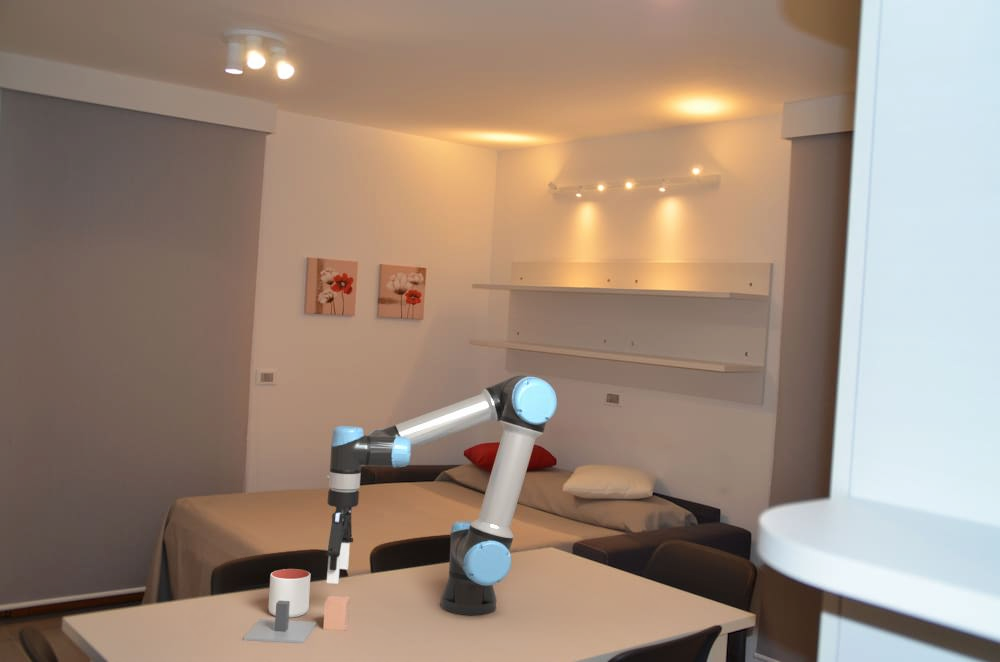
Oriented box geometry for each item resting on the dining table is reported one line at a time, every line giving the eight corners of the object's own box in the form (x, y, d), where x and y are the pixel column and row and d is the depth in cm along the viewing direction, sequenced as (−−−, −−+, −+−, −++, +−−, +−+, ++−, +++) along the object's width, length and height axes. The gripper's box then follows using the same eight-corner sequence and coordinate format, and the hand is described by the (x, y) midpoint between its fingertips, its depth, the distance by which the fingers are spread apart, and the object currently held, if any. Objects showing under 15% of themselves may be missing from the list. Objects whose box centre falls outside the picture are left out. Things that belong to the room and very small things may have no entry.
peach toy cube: (348, 623, 216) (349, 597, 216) (344, 630, 211) (346, 603, 211) (327, 622, 216) (329, 595, 216) (323, 629, 211) (324, 602, 211)
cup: (298, 621, 216) (300, 580, 216) (261, 616, 218) (263, 576, 218) (314, 609, 226) (316, 571, 226) (278, 605, 228) (281, 567, 228)
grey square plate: (316, 624, 214) (318, 595, 214) (304, 643, 200) (305, 612, 200) (259, 621, 214) (261, 592, 214) (243, 640, 200) (245, 609, 200)
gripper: (337, 480, 226) (332, 562, 226) (318, 496, 201) (311, 588, 201) (366, 482, 226) (360, 564, 226) (350, 498, 202) (344, 590, 201)
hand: (337, 575), depth 213 cm, fingers open, 13 cm apart
